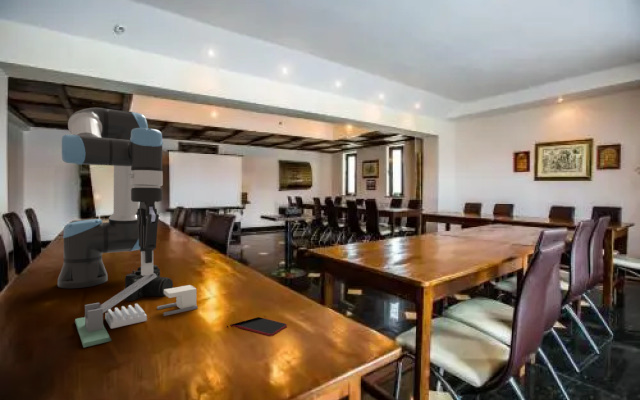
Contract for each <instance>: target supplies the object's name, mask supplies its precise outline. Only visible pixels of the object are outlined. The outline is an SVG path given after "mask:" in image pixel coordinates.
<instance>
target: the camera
mask: <svg viewBox="0 0 640 400" xmlns="http://www.w3.org/2000/svg"><path fill="white" fill-rule="evenodd" d="M153 273H155V274H156V275H157V277H156V278H154V279H153V280H151V281H150V282H148V283H147V284H145V285H144V286H142V287H141V288H140V289H138V290H137V291H135V292H134V293H132V294H131V295H129V296H128V297H126V298H125V299H124V301H126V302H133V301H136V300H137V299H140V298H143V297H167V296H166V295H165V294H164V289H170V288H174V282H173V280H172V279H171V278H170V277H165V276H161V271H160V268H159V266H158V265H156V264H153ZM144 276H145V275H144ZM144 276H142V275H141V266H139V267H138V268H137V270H132V272H130V273H129V274H126V275H125V277H124V280H125V281H124V283H125V284H124V289H126V288H127V287H129V286H130V285H132V284H133V283H135V282H136V281H138V280H139V279H141V278H142V277H144Z"/></svg>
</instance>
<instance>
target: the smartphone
mask: <svg viewBox="0 0 640 400" xmlns="http://www.w3.org/2000/svg"><path fill="white" fill-rule="evenodd" d="M229 326H231V327H235V328H238V329H241V330H246V331H250V332H252V333H256V334H257V333H258V334H260V335H264V336H269V337H273V336H274V335H276V334H277V333H279V332H280V331H282V330H284V329H285V328H287V326H288V325H287V323H286V322H280V321H277V320H272V319H268V318H264V317H260V316H257V317H254V318H251V319H247V320H244V321H243V320H242V321H240V322H235V323H231V324H229Z"/></svg>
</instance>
